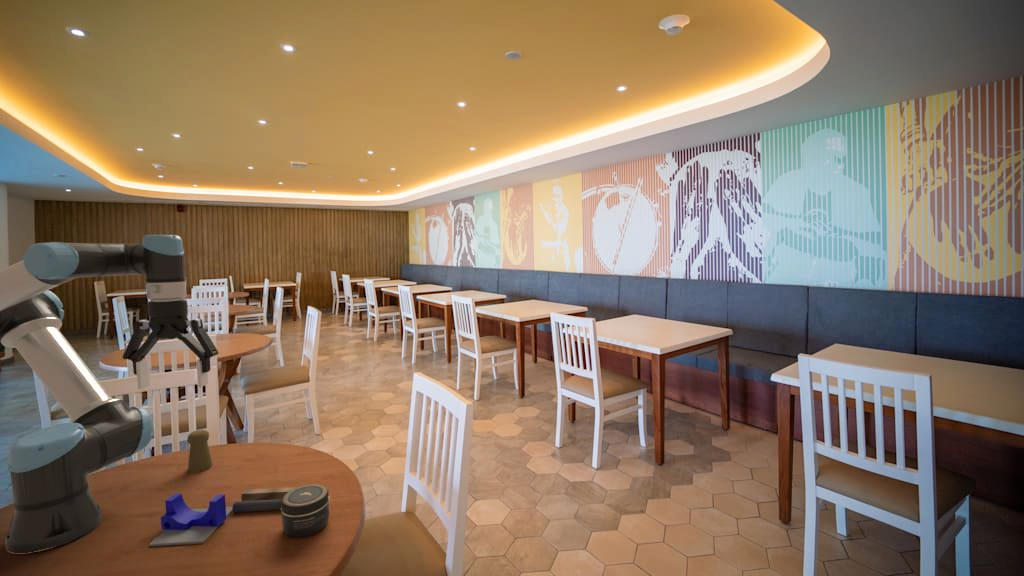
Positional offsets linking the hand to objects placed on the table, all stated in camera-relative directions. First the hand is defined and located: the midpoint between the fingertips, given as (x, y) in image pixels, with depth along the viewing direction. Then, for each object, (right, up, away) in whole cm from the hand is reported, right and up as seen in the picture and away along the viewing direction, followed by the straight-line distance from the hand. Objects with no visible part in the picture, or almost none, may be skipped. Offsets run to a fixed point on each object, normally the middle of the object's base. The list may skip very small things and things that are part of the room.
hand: (173, 386), depth 107 cm
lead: (+21, -30, +3) cm, 37 cm away
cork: (-10, -29, +23) cm, 38 cm away
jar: (+35, -31, -5) cm, 47 cm away
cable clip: (+9, -31, -5) cm, 33 cm away
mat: (+9, -31, -5) cm, 33 cm away
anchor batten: (+21, -30, +6) cm, 37 cm away
